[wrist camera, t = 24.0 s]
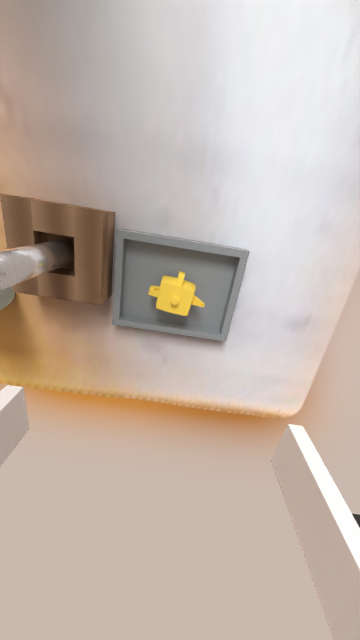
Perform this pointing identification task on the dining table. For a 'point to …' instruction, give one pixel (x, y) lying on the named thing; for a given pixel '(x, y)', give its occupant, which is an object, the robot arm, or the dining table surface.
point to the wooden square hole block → (71, 224)
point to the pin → (33, 261)
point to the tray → (168, 259)
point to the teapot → (175, 295)
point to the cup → (6, 297)
